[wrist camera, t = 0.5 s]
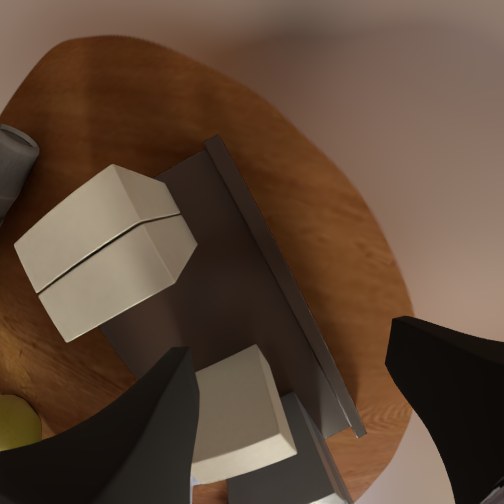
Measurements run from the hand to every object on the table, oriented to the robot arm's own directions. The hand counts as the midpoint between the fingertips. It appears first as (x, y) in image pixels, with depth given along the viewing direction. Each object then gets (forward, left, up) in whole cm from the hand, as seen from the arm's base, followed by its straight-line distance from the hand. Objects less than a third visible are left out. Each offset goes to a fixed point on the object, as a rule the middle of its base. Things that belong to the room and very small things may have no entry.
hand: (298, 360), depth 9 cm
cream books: (-5, +6, -10) cm, 13 cm away
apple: (-31, -2, -11) cm, 33 cm away
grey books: (-5, -13, -10) cm, 17 cm away
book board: (-5, -4, -11) cm, 13 cm away
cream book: (-5, -5, -10) cm, 12 cm away
